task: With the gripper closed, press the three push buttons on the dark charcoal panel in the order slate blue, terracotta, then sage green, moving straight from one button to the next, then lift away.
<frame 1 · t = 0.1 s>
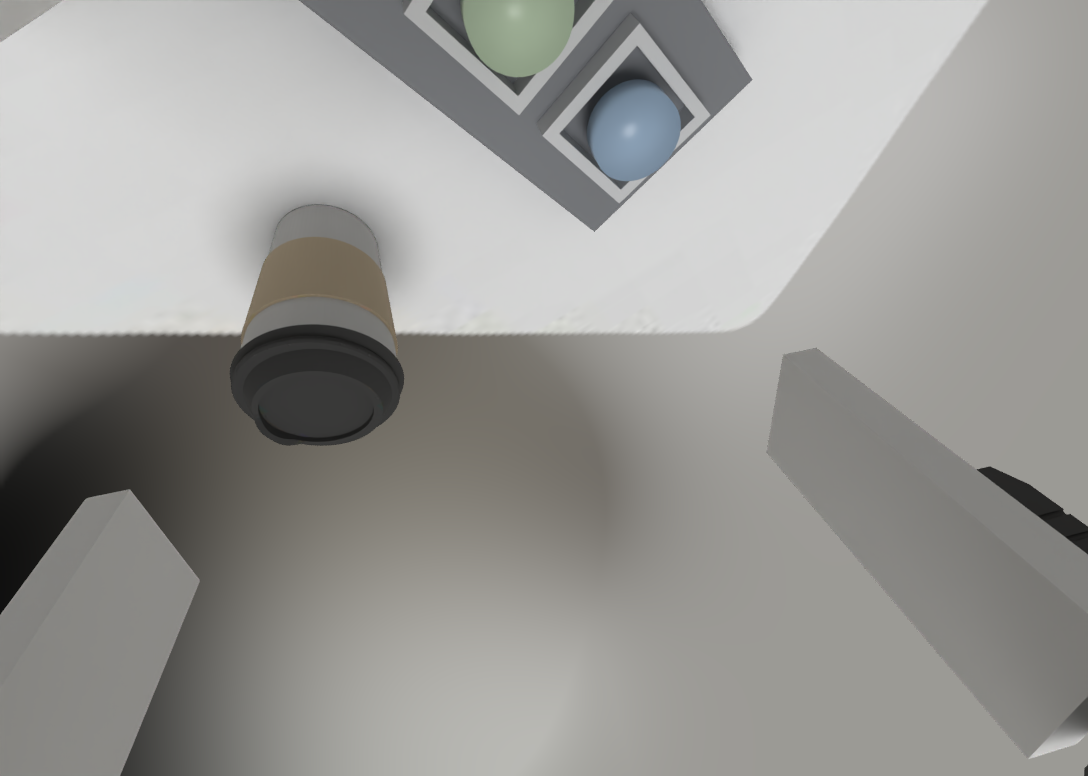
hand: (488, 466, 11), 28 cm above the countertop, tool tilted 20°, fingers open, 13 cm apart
button slate: (633, 132, 30), point 5 cm above the countertop, slide at 0.0 cm
button sage: (517, 10, 24), point 5 cm above the countertop, slide at 0.0 cm
coffee cup: (328, 246, 38), on the countertop
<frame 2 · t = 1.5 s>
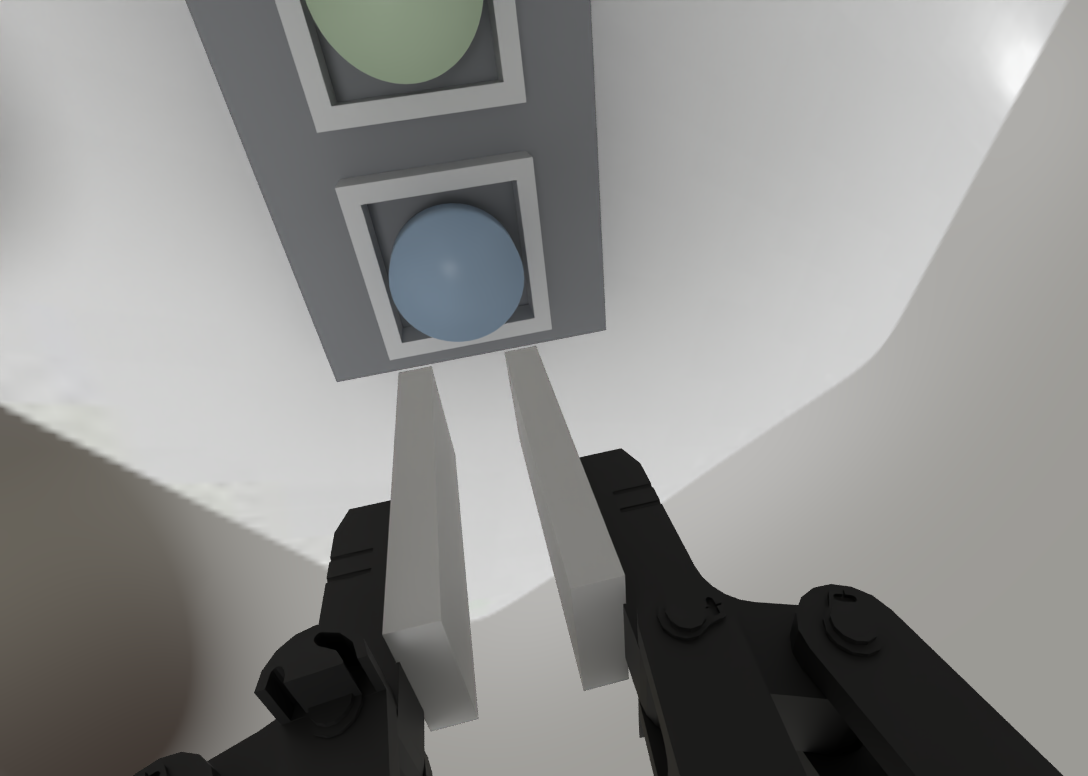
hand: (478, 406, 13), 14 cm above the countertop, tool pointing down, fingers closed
button slate: (457, 274, 20), point 5 cm above the countertop, slide at 0.0 cm
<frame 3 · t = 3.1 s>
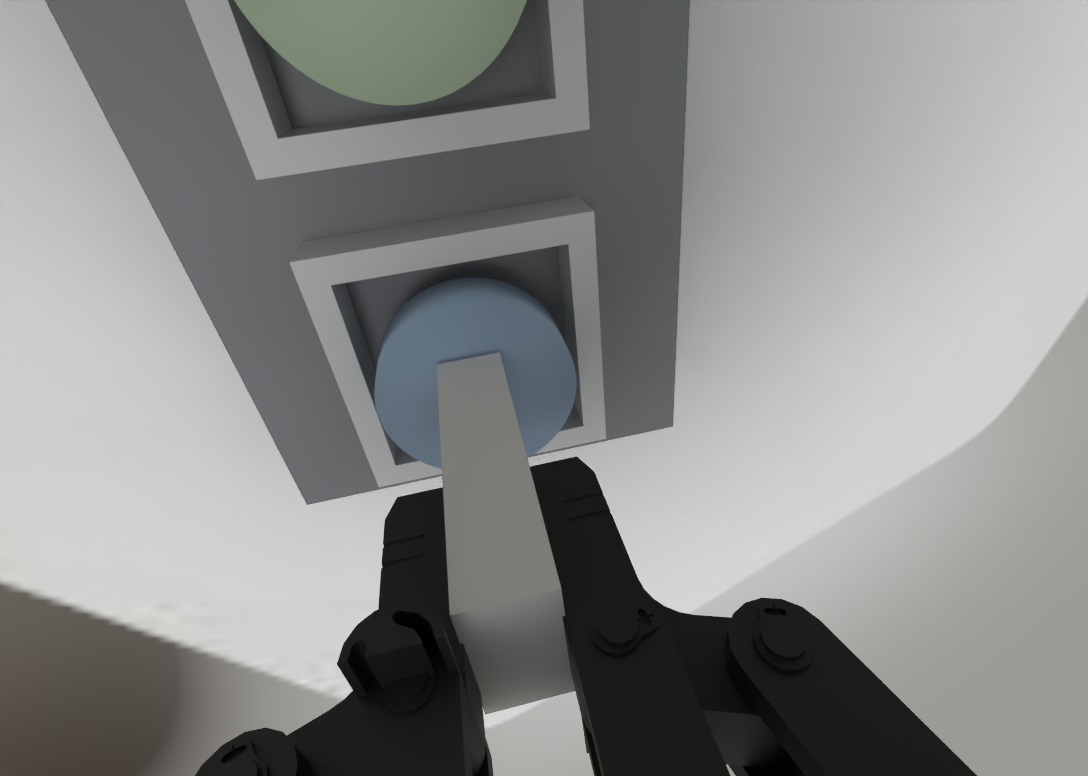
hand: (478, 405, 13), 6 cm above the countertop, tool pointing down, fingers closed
button slate: (476, 379, 14), point 5 cm above the countertop, slide at 0.2 cm, touching gripper
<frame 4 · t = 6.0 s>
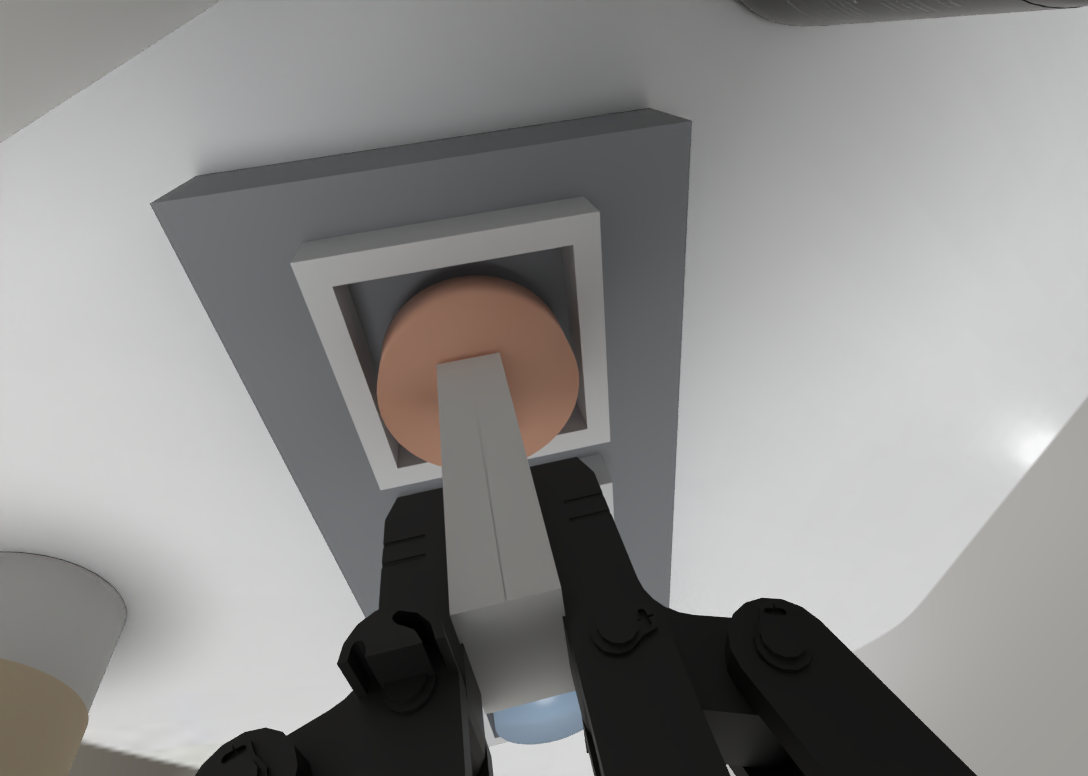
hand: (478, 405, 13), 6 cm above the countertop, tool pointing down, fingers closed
panel: (505, 488, 23), on the countertop
button terracotta: (478, 377, 14), point 5 cm above the countertop, slide at 0.4 cm, touching gripper
button slate: (547, 697, 24), point 5 cm above the countertop, slide at 0.7 cm
coffee cup: (32, 605, 22), on the countertop
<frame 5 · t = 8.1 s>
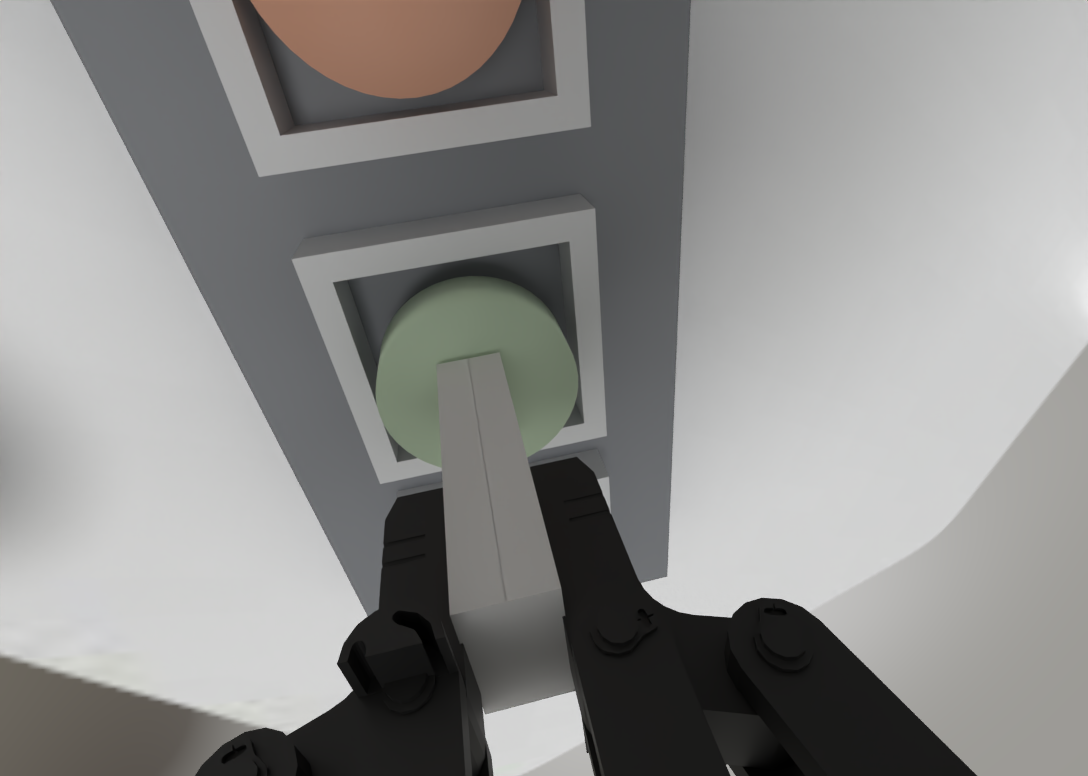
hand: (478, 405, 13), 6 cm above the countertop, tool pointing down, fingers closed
panel: (464, 296, 18), on the countertop
button sage: (477, 378, 14), point 5 cm above the countertop, slide at 0.1 cm, touching gripper
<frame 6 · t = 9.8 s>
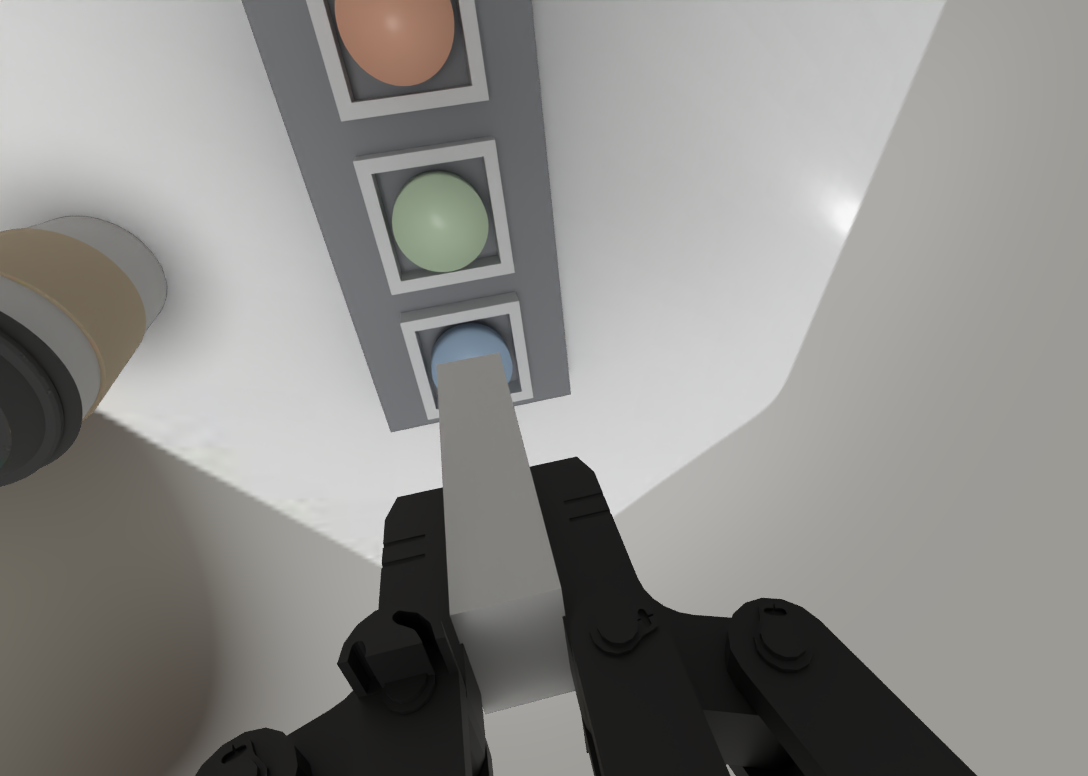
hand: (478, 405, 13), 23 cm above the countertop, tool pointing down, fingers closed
panel: (437, 202, 32), on the countertop
button terracotta: (396, 20, 24), point 5 cm above the countertop, slide at 0.8 cm
button slate: (471, 364, 33), point 5 cm above the countertop, slide at 0.7 cm
button sage: (440, 222, 28), point 5 cm above the countertop, slide at 0.7 cm
coffee cup: (101, 275, 31), on the countertop
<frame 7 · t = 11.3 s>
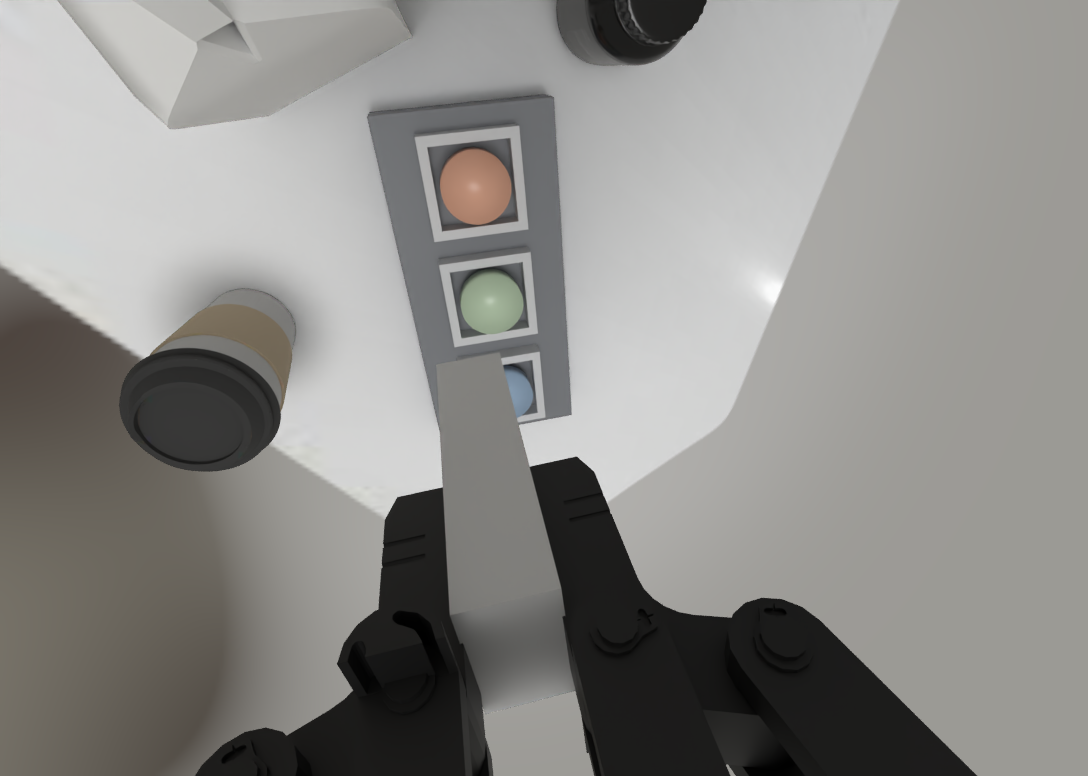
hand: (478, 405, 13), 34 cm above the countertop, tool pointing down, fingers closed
panel: (484, 281, 47), on the countertop
button terracotta: (475, 186, 38), point 5 cm above the countertop, slide at 0.8 cm
button slate: (504, 393, 48), point 5 cm above the countertop, slide at 0.7 cm
button sage: (491, 302, 43), point 5 cm above the countertop, slide at 0.7 cm
coffee cup: (253, 326, 45), on the countertop
supplement bottle: (600, 9, 38), on the countertop
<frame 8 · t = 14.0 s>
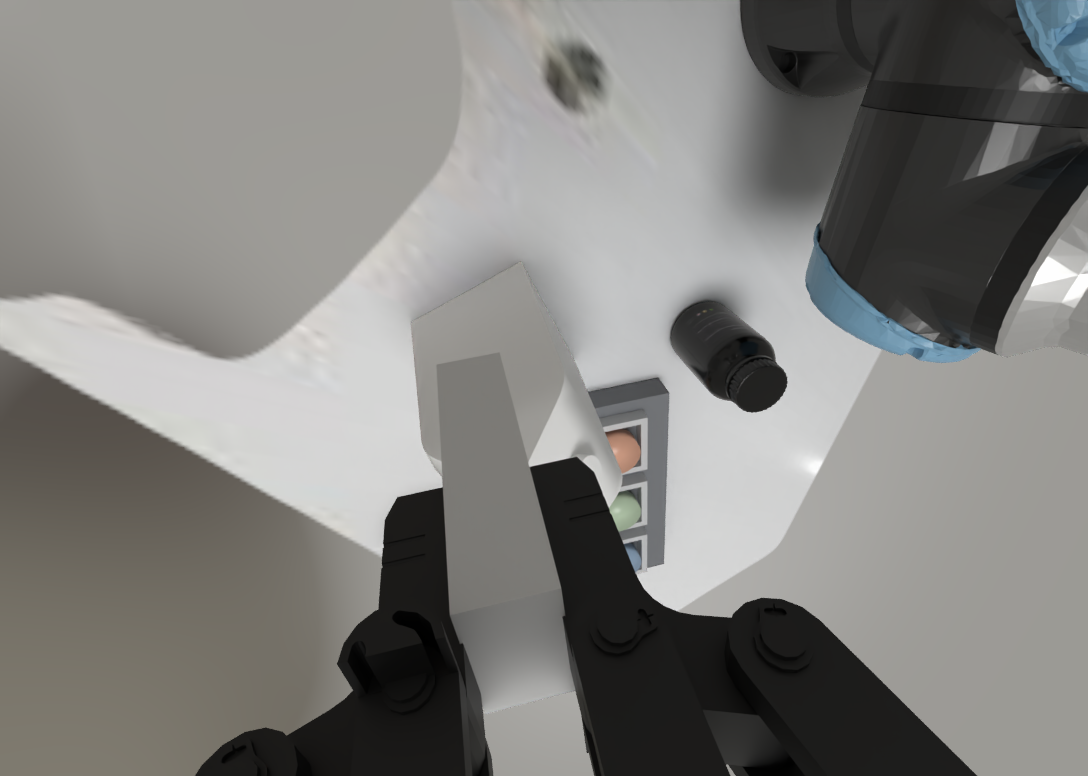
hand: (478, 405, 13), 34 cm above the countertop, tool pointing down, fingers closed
panel: (606, 483, 64), on the countertop
button terracotta: (615, 452, 55), point 5 cm above the countertop, slide at 0.8 cm
button slate: (620, 561, 66), point 5 cm above the countertop, slide at 0.7 cm
milk: (496, 341, 51), on the countertop
button sage: (617, 511, 60), point 5 cm above the countertop, slide at 0.7 cm
supplement bottle: (699, 328, 55), on the countertop
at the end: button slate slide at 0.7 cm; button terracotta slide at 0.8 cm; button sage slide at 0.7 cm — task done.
